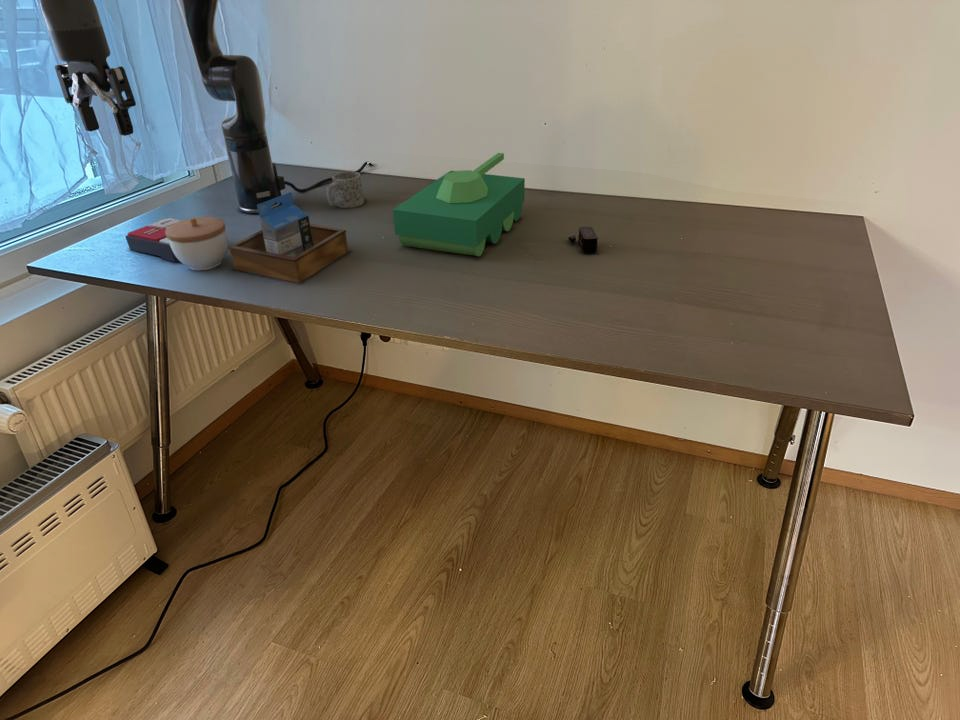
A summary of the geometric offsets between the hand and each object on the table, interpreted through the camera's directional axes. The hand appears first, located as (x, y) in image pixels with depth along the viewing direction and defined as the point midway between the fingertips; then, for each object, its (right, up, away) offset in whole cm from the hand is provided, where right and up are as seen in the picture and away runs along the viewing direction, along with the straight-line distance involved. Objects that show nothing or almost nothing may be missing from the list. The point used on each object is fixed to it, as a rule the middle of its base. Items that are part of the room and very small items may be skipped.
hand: (109, 132), depth 111 cm
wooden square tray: (+25, -19, +19) cm, 37 cm away
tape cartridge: (+25, -19, +19) cm, 37 cm away
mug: (+30, -2, +46) cm, 55 cm away
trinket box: (+8, -20, +19) cm, 28 cm away
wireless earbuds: (+83, -16, +21) cm, 87 cm away
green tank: (+60, -9, +33) cm, 69 cm away
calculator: (-1, -15, +27) cm, 31 cm away
